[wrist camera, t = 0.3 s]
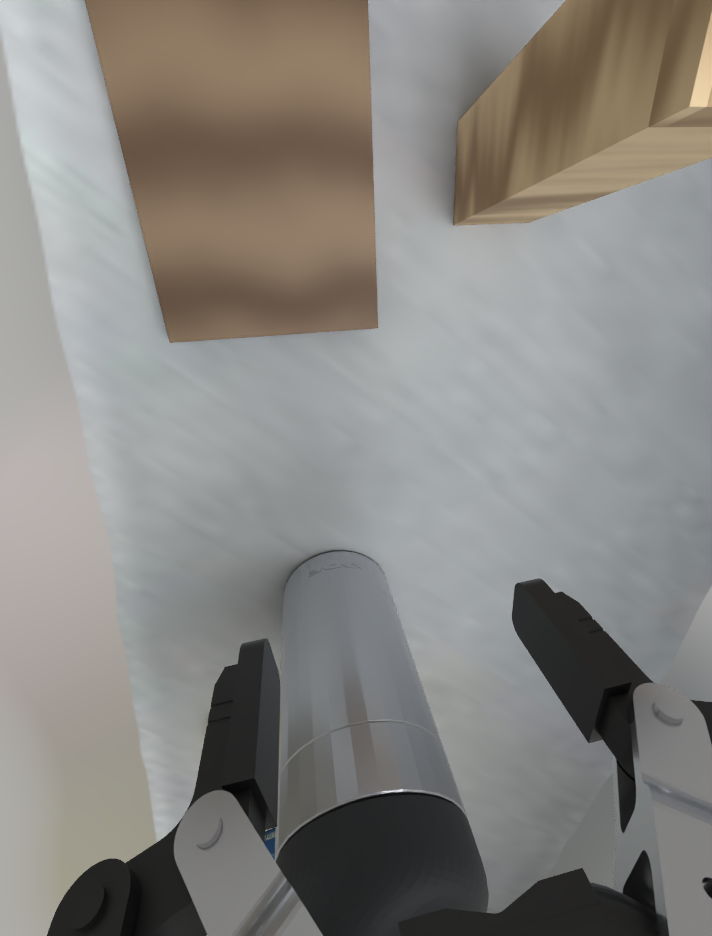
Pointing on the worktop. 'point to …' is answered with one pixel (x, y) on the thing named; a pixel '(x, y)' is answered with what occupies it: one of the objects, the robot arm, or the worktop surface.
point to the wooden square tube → (588, 110)
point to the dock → (247, 159)
